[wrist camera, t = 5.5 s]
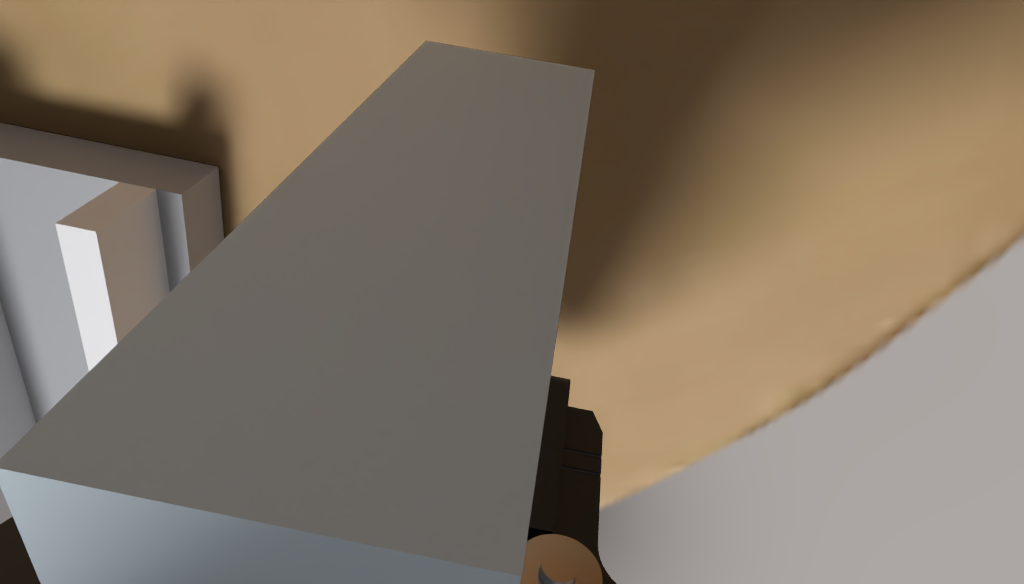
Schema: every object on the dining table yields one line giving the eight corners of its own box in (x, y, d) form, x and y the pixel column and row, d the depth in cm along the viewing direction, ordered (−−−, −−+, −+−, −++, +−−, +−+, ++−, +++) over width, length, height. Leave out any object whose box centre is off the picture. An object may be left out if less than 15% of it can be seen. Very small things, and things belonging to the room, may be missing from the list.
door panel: (425, 40, 12) (-7, 466, 4) (595, 70, 12) (521, 576, 4) (398, 493, 19) (217, 1008, 11) (507, 515, 19) (410, 1054, 10)
